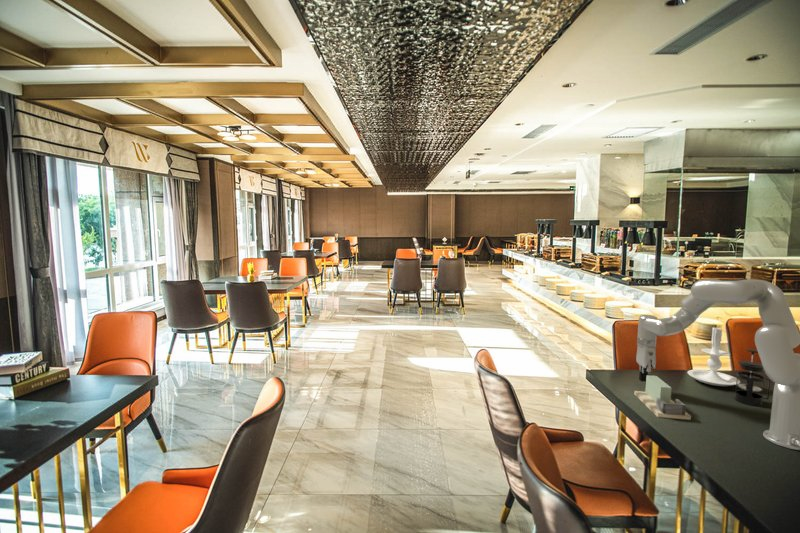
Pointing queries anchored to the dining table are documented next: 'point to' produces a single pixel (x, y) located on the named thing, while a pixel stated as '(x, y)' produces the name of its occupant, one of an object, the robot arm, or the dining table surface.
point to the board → (664, 407)
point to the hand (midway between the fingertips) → (643, 380)
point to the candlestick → (714, 364)
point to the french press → (750, 383)
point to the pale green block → (657, 389)
